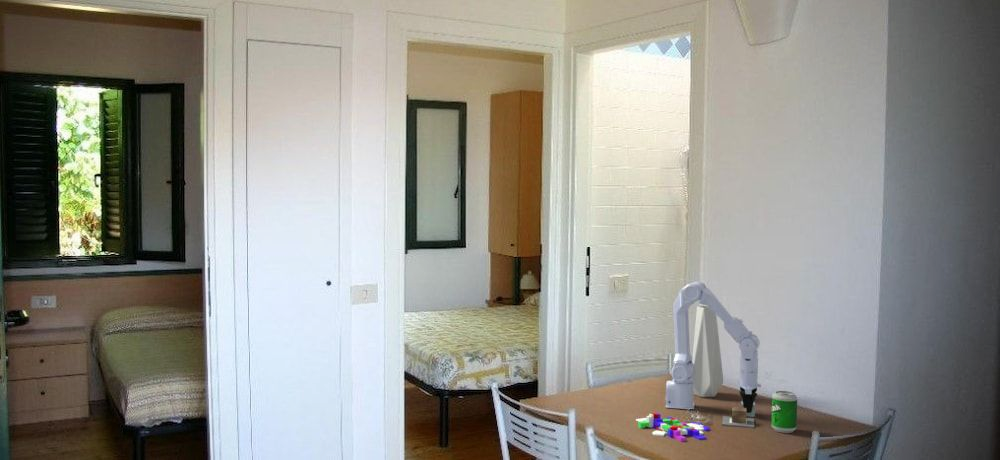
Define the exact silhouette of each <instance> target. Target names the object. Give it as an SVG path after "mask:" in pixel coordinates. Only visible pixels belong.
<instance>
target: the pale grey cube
mask: <svg viewBox="0 0 1000 460" xmlns="http://www.w3.org/2000/svg"><path fill="white" fill-rule="evenodd" d="M740 408H744V405H743V400H741V401H740ZM746 417H747V418H755V417H756V401H754V403H753V408H752V412H751V413H746Z"/></svg>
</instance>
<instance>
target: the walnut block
mask: <svg viewBox="0 0 1000 460" xmlns="http://www.w3.org/2000/svg"><path fill="white" fill-rule="evenodd" d="M731 417H732V423H743V424H746V418H747V416H746V408H741V407H737V406H736V407H735V406H734V407H733V406H732V407H731Z"/></svg>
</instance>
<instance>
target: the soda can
mask: <svg viewBox="0 0 1000 460" xmlns="http://www.w3.org/2000/svg"><path fill="white" fill-rule="evenodd" d="M771 397H772V399H771V428H772V429H773V430H774V431H775V432H778V433H780V434H781V433H782V434H791V433H792V434H793V433H794V431H796V430H797V426H798V425H797V423H798V422H797V421H798V396H797V395H796V394H795V392H793V391H788V390H787V391H786V390H776V391H775V392H774V393H773V394H772V396H771Z"/></svg>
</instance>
